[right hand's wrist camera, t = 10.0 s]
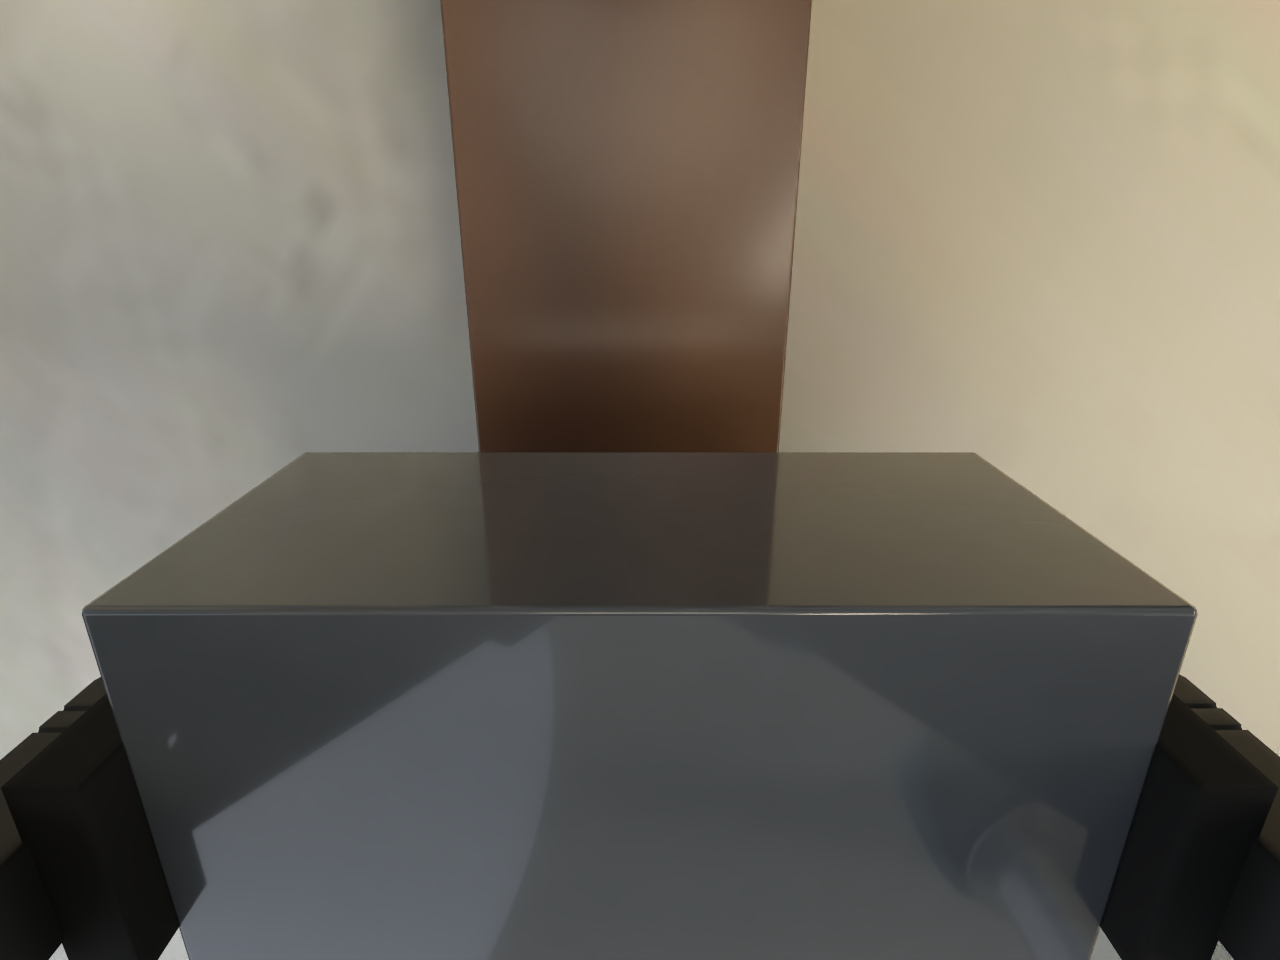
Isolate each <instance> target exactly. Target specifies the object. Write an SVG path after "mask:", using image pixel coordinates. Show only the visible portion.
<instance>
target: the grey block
mask: <svg viewBox="0 0 1280 960" xmlns="http://www.w3.org/2000/svg"><path fill="white" fill-rule="evenodd" d="M82 616H83V619H84V623H85V626H86V629H87V632H88V636H89V639H90V642H91V645H92V648H93V652H94V655H95V658H96V661H97V665H98V668H99V671H100V674H101V677H102V681H103V684H104V687H105V690H106V693H107V697H108V700H109V703H110V706H111V710H112V713H113V716H114V719H115V722H116V726H117V729H118V732H119V735H120V738H121V742H122V745H123V748H124V751H125V755H126V758H127V761H128V764H129V767H130V771H131V774H132V777H133V780H134V784H135V787H136V790H137V793H138V796H139V800H140V803H141V806H142V809H143V812H144V816H145V819H146V822H147V825H148V829H149V832H150V835H151V838H152V841H153V845H154V848H155V851H156V854H157V858H158V861H159V864H160V867H161V870H162V874H163V877H164V880H165V883H166V886H167V890H168V893H169V896H170V899H171V903H172V906H173V909H174V912H175V915H176V919H177V922H178V925H179V928H180V931H181V935H182V938H183V941H184V944H185V948H186V951H187V954H188V957H189V960H1090V959H1091V956H1092V953H1093V949H1094V946H1095V943H1096V940H1097V936H1098V933H1099V930H1100V927H1101V924H1102V920H1103V917H1104V914H1105V911H1106V907H1107V904H1108V901H1109V898H1110V895H1111V891H1112V888H1113V885H1114V882H1115V879H1116V875H1117V872H1118V869H1119V866H1120V862H1121V859H1122V856H1123V853H1124V850H1125V846H1126V843H1127V840H1128V837H1129V833H1130V830H1131V827H1132V824H1133V821H1134V817H1135V814H1136V811H1137V808H1138V805H1139V801H1140V798H1141V795H1142V792H1143V788H1144V785H1145V782H1146V779H1147V776H1148V772H1149V769H1150V766H1151V763H1152V759H1153V756H1154V753H1155V750H1156V747H1157V743H1158V740H1159V737H1160V734H1161V731H1162V727H1163V724H1164V721H1165V718H1166V714H1167V711H1168V708H1169V705H1170V702H1171V698H1172V695H1173V692H1174V689H1175V685H1176V682H1177V679H1178V676H1179V673H1180V669H1181V666H1182V663H1183V660H1184V657H1185V653H1186V650H1187V647H1188V644H1189V640H1190V637H1191V634H1192V631H1193V628H1194V624H1195V621H1196V618H1197V610H1196V608H1195V607H1194V606H1193V605H1191V604H1190V603H1189V602H1187V601H1186V600H1184V599H1183V598H1181V597H1180V596H1179V595H1177V594H1176V593H1174V592H1173V591H1171V590H1170V589H1169V588H1167V587H1166V586H1164V585H1163V584H1162V583H1160V582H1159V581H1157V580H1156V579H1154V578H1153V577H1152V576H1150V575H1149V574H1147V573H1146V572H1144V571H1143V570H1142V569H1140V568H1139V567H1137V566H1136V565H1134V564H1133V563H1132V562H1130V561H1129V560H1127V559H1126V558H1124V557H1123V556H1122V555H1120V554H1119V553H1117V552H1116V551H1114V550H1113V549H1112V548H1110V547H1109V546H1107V545H1106V544H1104V543H1103V542H1102V541H1100V540H1099V539H1097V538H1096V537H1094V536H1093V535H1092V534H1090V533H1089V532H1087V531H1086V530H1084V529H1083V528H1082V527H1080V526H1079V525H1077V524H1076V523H1074V522H1073V521H1072V520H1070V519H1069V518H1067V517H1066V516H1065V515H1063V514H1062V513H1060V512H1059V511H1057V510H1056V509H1055V508H1053V507H1052V506H1050V505H1049V504H1047V503H1046V502H1045V501H1043V500H1042V499H1040V498H1039V497H1037V496H1036V495H1035V494H1033V493H1032V492H1030V491H1029V490H1027V489H1026V488H1025V487H1023V486H1022V485H1020V484H1019V483H1017V482H1016V481H1015V480H1013V479H1012V478H1010V477H1009V476H1007V475H1006V474H1005V473H1003V472H1002V471H1000V470H999V469H997V468H996V467H995V466H993V465H992V464H990V463H989V462H987V461H986V460H985V459H983V458H982V457H980V456H979V455H978V454H976V453H304V454H302V455H301V456H299V457H298V458H296V459H295V460H294V461H292V462H291V463H289V464H288V465H286V466H285V467H284V468H282V469H281V470H279V471H278V472H276V473H275V474H274V475H272V476H271V477H269V478H268V479H266V480H265V481H263V482H262V483H261V484H259V485H258V486H256V487H255V488H253V489H252V490H251V491H249V492H248V493H246V494H245V495H243V496H242V497H241V498H239V499H238V500H236V501H235V502H233V503H232V504H231V505H229V506H228V507H226V508H225V509H223V510H222V511H221V512H219V513H218V514H216V515H215V516H213V517H212V518H211V519H209V520H208V521H206V522H205V523H203V524H202V525H201V526H199V527H198V528H196V529H195V530H193V531H192V532H191V533H189V534H188V535H186V536H185V537H183V538H182V539H181V540H179V541H178V542H176V543H175V544H173V545H172V546H171V547H169V548H168V549H166V550H165V551H163V552H162V553H161V554H159V555H158V556H156V557H155V558H153V559H152V560H150V561H149V562H148V563H146V564H145V565H143V566H142V567H140V568H139V569H138V570H136V571H135V572H133V573H132V574H130V575H129V576H128V577H126V578H125V579H123V580H122V581H120V582H119V583H118V584H116V585H115V586H113V587H112V588H110V589H109V590H108V591H106V592H105V593H103V594H102V595H100V596H99V597H98V598H96V599H95V600H93V601H92V602H90V603H89V604H88V605H86V606H85V607H84V609H83V611H82Z"/></svg>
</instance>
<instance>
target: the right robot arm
mask: <svg viewBox="0 0 1280 960" xmlns="http://www.w3.org/2000/svg"><path fill="white" fill-rule="evenodd" d="M178 928H179V925H178V922H177V919H176V915H175V912H174V909H173V906H172V903H171V899H170V896H169V893H168V890H167V886H166V883H165V880H164V877H163V874H162V870H161V867H160V864H159V861H158V858H157V854H156V851H155V848H154V845H153V841H152V838H151V835H150V832H149V829H148V825H147V822H146V819H145V816H144V812H143V809H142V806H141V803H140V800H139V796H138V793H137V790H136V787H135V784H134V780H133V777H132V774H131V771H130V767H129V764H128V761H127V758H126V755H125V751H124V748H123V745H122V742H121V738H120V735H119V732H118V729H117V726H116V722H115V719H114V716H113V713H112V710H111V706H110V703H109V700H108V697H107V693H106V690H105V687H104V684H103V681H102V677H100V678H98V679H96V680H94V681H93V682H92V683H91V684H90V685H88V686H87V687H86V688H85V689H84V690H83V691H81V692H80V693H79V694H78V695H77V696H75V697H74V698H73V699H72V700H71V701H70V702H68V703H67V704H66V705H65V706H64V710H63V711H58V712H57V713H55V714H54V715H53V716H52V717H51V718H50V719H48V720H47V721H46V722H45V723H44V724H42V725H41V726H40V727H39V732H38V733H32V734H31V735H30V736H28V737H27V738H26V739H25V740H24V741H22V742H21V743H20V744H19V745H18V746H17V747H15V748H14V749H13V750H12V751H11V752H10V753H8V754H7V755H6V756H5V757H4V758H2V759H1V760H0V960H49V958H50V957H51V956H52V955H53V953H54V952H55V951H56V950H57V948H58V947H59V946H60V944H61V943H62V944H63V947H64V949H65V952H66V954H67V957H68V959H69V960H158V958H159V957H160V955H161V954H162V952H163V951H164V949H165V948H166V946H167V945H168V943H169V942H170V940H171V938H172V937H173V935H174V934H175V932H176V931H177V929H178ZM1101 928H1102V930H1103V931H1104V933H1105V935H1106V936H1107V938H1108V939H1109V941H1110V942H1111V944H1112V945H1113V947H1114V948H1115V950H1116V951H1117V953H1118V955H1119V956H1120V958H1121V959H1122V960H1211V958H1212V955H1213V953H1214V950H1215V948H1216V945H1217V942H1218V940H1219V941H1220V942H1221V944H1222V945H1223V946H1224V947H1225V949H1226V950H1227V951H1228V952H1229V954H1230V955H1231V956H1232V957H1233V959H1234V960H1280V757H1279V756H1278V755H1277V754H1275V753H1274V752H1273V751H1272V750H1271V749H1270V748H1268V747H1267V746H1266V745H1265V744H1264V743H1262V742H1261V741H1260V740H1259V739H1258V738H1257V737H1255V736H1254V735H1253V734H1252V733H1251V732H1249V731H1248V730H1242V728H1241V724H1240V723H1239V722H1238V721H1236V720H1235V719H1234V718H1233V717H1232V716H1230V715H1229V714H1228V713H1227V712H1226V711H1224V710H1223V709H1222V708H1217V707H1216V703H1215V702H1214V701H1213V700H1211V699H1210V698H1209V697H1208V696H1207V695H1206V694H1204V693H1203V692H1202V691H1201V690H1200V689H1198V688H1197V687H1196V686H1195V685H1194V684H1192V683H1191V682H1190V681H1189V680H1188V679H1187V678H1185V677H1183V676H1181V675H1179V676H1178V679H1177V682H1176V685H1175V689H1174V692H1173V695H1172V698H1171V702H1170V705H1169V708H1168V711H1167V714H1166V718H1165V721H1164V724H1163V727H1162V731H1161V734H1160V737H1159V740H1158V743H1157V747H1156V750H1155V753H1154V756H1153V759H1152V763H1151V766H1150V769H1149V772H1148V776H1147V779H1146V782H1145V785H1144V788H1143V792H1142V795H1141V798H1140V801H1139V805H1138V808H1137V811H1136V814H1135V817H1134V821H1133V824H1132V827H1131V830H1130V833H1129V837H1128V840H1127V843H1126V846H1125V850H1124V853H1123V856H1122V859H1121V862H1120V866H1119V869H1118V872H1117V875H1116V879H1115V882H1114V885H1113V888H1112V891H1111V895H1110V898H1109V901H1108V904H1107V907H1106V911H1105V914H1104V917H1103V920H1102V924H1101Z"/></svg>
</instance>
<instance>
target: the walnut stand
mask: <svg viewBox="0 0 1280 960" xmlns="http://www.w3.org/2000/svg"><path fill="white" fill-rule="evenodd" d="M440 1H441V13H442V24H443V36H444V48H445V60H446V71H447V83H448V95H449V106H450V118H451V130H452V141H453V153H454V165H455V176H456V188H457V200H458V211H459V223H460V235H461V247H462V258H463V270H464V282H465V293H466V305H467V317H468V328H469V340H470V352H471V363H472V375H473V387H474V398H475V410H476V422H477V433H478V445H479V453H778V452H779V438H780V424H781V411H782V397H783V384H784V370H785V357H786V343H787V330H788V316H789V303H790V289H791V275H792V262H793V248H794V235H795V221H796V208H797V194H798V181H799V167H800V154H801V140H802V127H803V113H804V99H805V86H806V72H807V59H808V45H809V32H810V18H811V5H812V0H440Z"/></svg>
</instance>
